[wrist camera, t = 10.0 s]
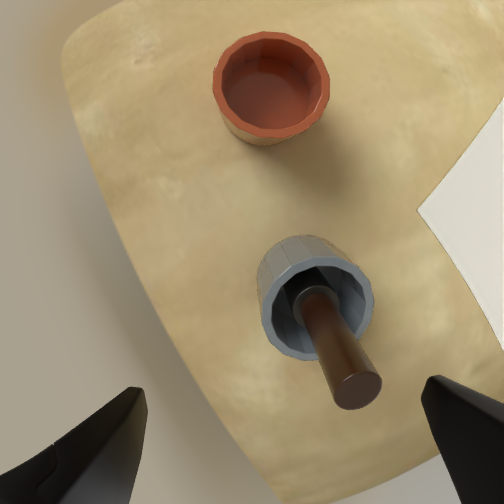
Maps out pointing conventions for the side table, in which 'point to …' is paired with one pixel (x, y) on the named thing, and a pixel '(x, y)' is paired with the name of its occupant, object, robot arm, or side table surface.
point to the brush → (332, 340)
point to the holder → (270, 87)
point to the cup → (336, 273)
